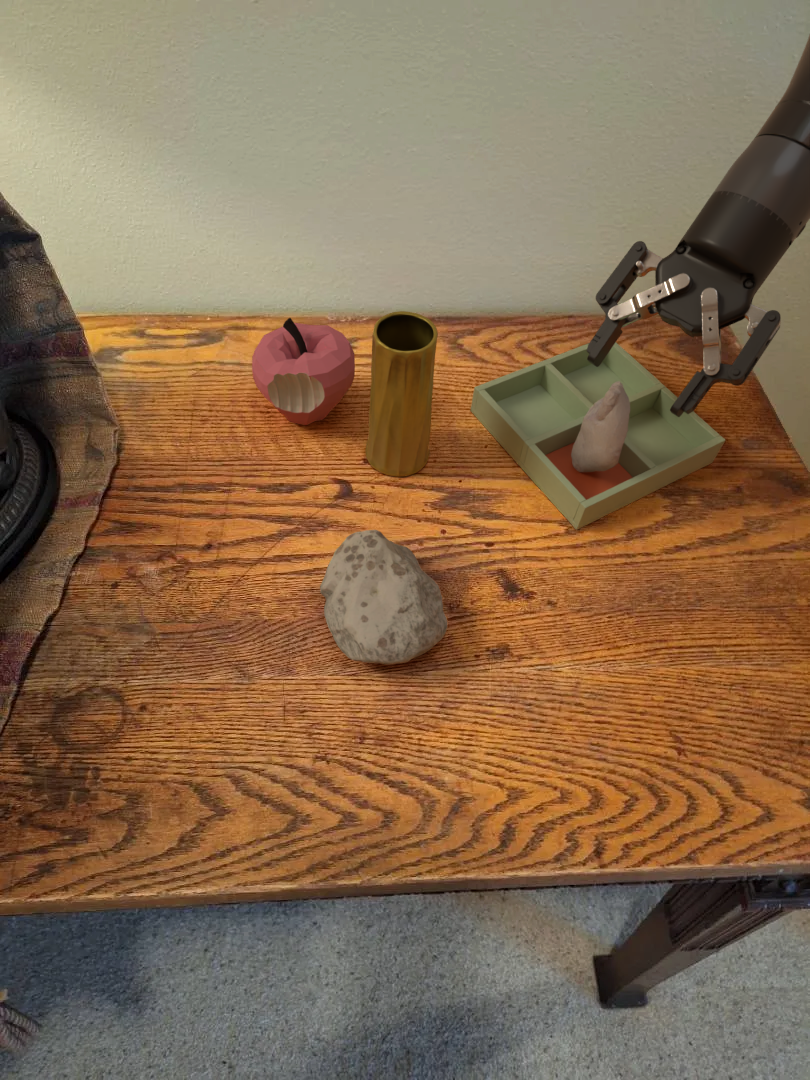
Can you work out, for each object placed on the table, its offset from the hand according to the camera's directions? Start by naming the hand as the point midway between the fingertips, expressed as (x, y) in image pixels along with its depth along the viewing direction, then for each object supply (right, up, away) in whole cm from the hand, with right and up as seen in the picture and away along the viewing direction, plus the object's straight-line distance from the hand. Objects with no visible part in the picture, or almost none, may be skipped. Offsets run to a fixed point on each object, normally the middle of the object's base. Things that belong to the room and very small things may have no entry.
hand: (632, 388), depth 63 cm
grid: (-1, -3, +9) cm, 10 cm away
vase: (-20, -5, +7) cm, 22 cm away
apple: (-29, -1, +9) cm, 31 cm away
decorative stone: (-22, -19, -4) cm, 29 cm away
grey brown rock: (-3, -7, +5) cm, 9 cm away
